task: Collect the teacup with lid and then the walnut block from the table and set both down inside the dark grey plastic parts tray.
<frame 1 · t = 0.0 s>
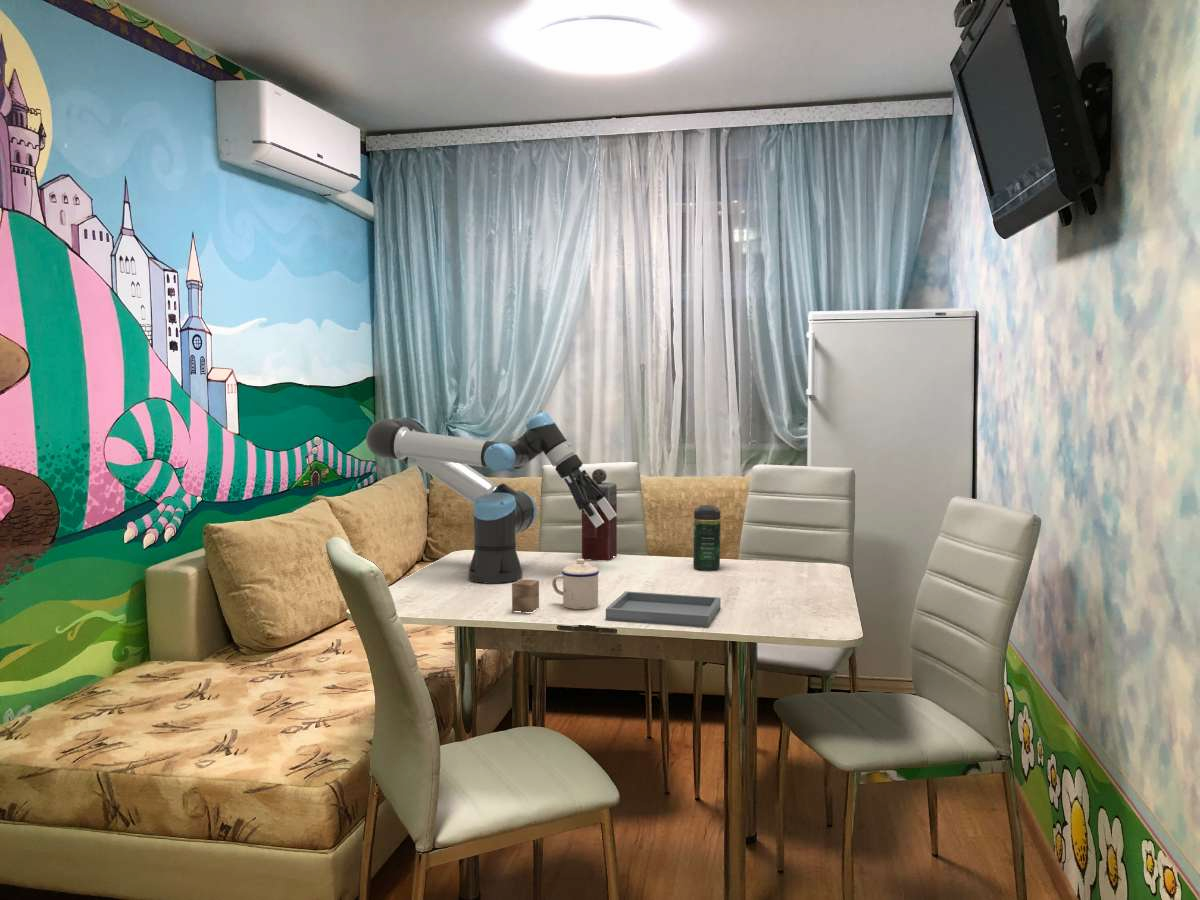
hand: (606, 521, 255), 15 cm above the table, tool tilted 35°, fingers open, 13 cm apart
tray: (664, 613, 212), on the table
walnut block: (525, 610, 216), on the table
coffee jar: (706, 568, 265), on the table
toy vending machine: (598, 558, 279), on the table
teacup with lid: (575, 606, 220), on the table
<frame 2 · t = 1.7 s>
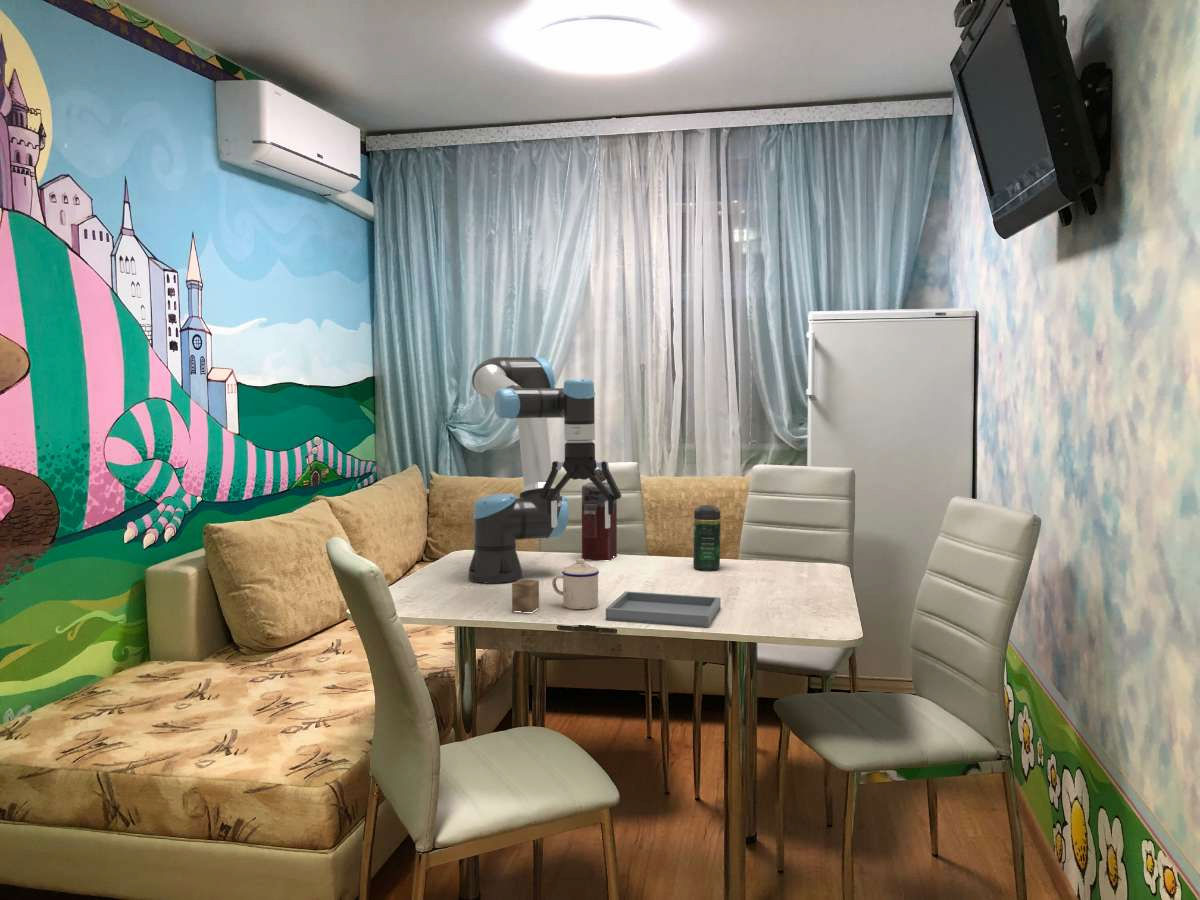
hand: (580, 527, 221), 19 cm above the table, tool pointing down, fingers open, 13 cm apart
nothing on the table moved.
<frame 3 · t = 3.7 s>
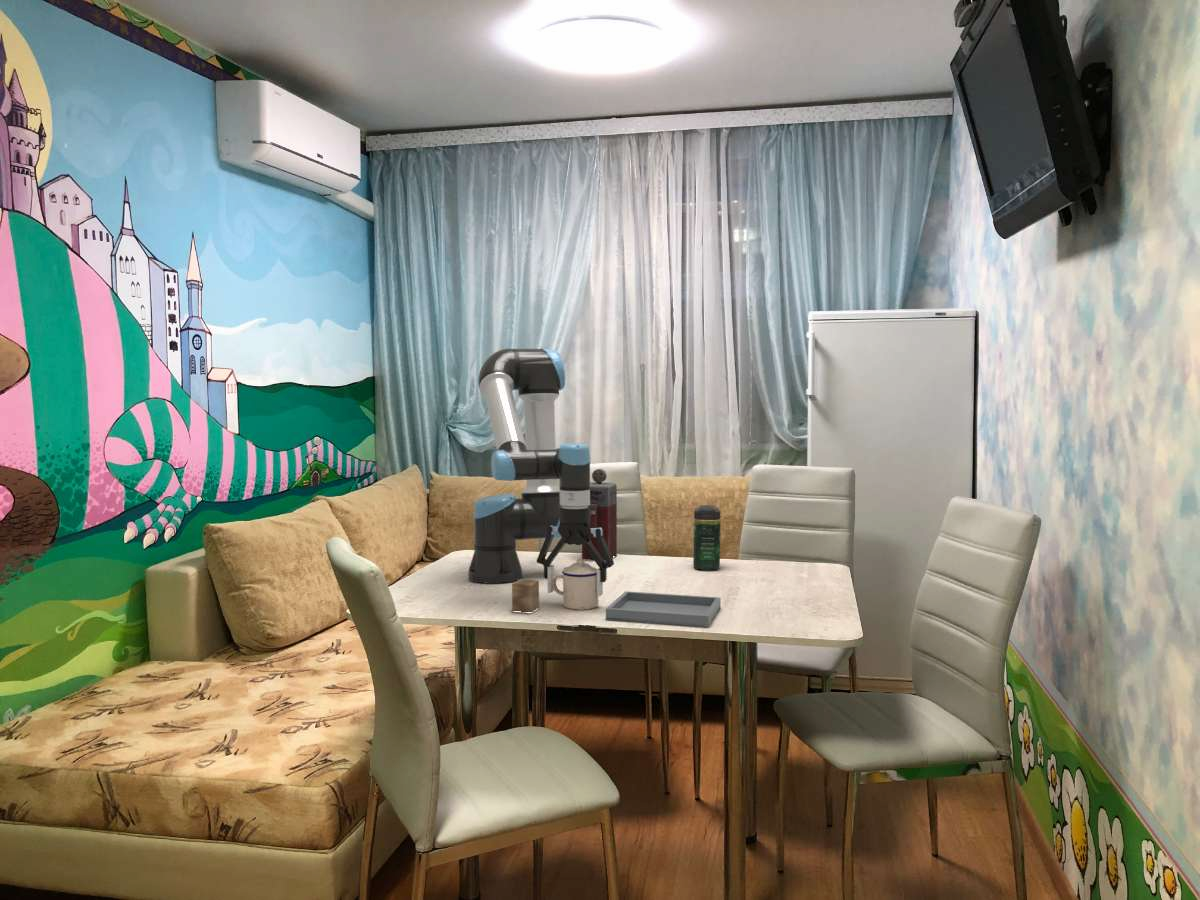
hand: (575, 593, 220), 3 cm above the table, tool pointing down, fingers closed on teacup with lid, 12 cm apart
teacup with lid: (575, 606, 220), on the table, touching gripper
everything else where it was.
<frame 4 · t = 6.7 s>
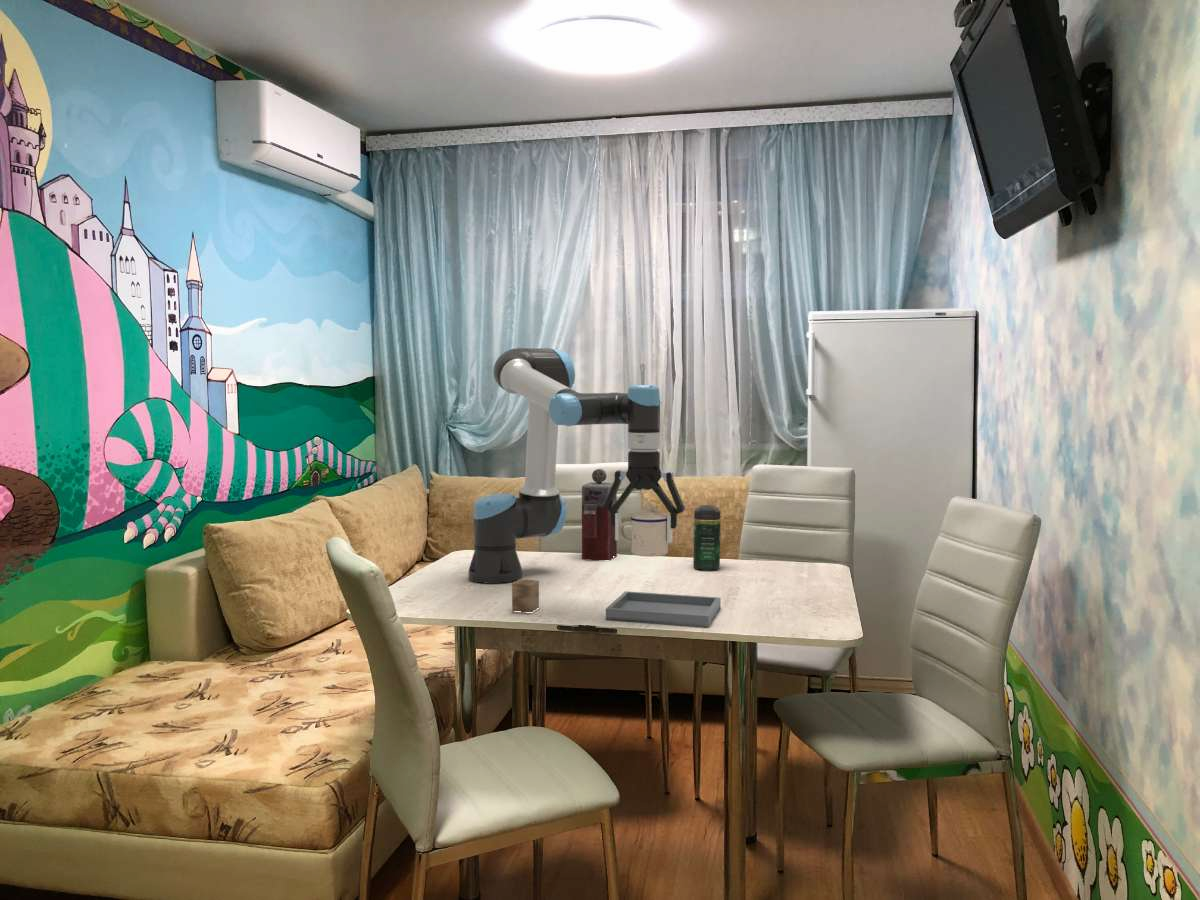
hand: (643, 540, 212), 17 cm above the table, tool pointing down, fingers closed on teacup with lid, 12 cm apart
teacup with lid: (643, 553, 212), point 14 cm above the table, touching gripper
everything else where it was.
when the fingers open (5 cm above the table, at t = 9.6 s): teacup with lid drops 1 cm, resting on tray.
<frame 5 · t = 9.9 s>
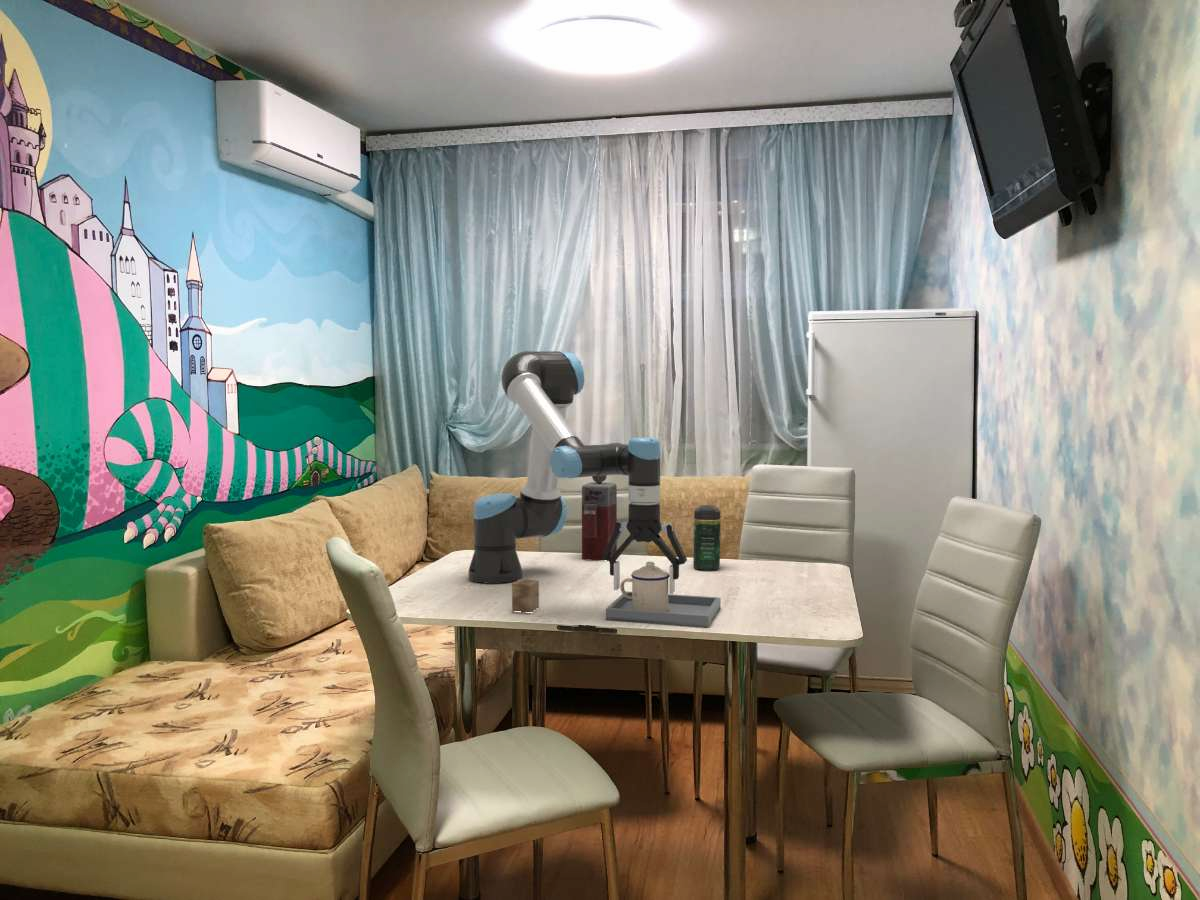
hand: (644, 590, 213), 5 cm above the table, tool pointing down, fingers open, 13 cm apart
teacup with lid: (644, 610, 214), resting on tray
everything else where it was.
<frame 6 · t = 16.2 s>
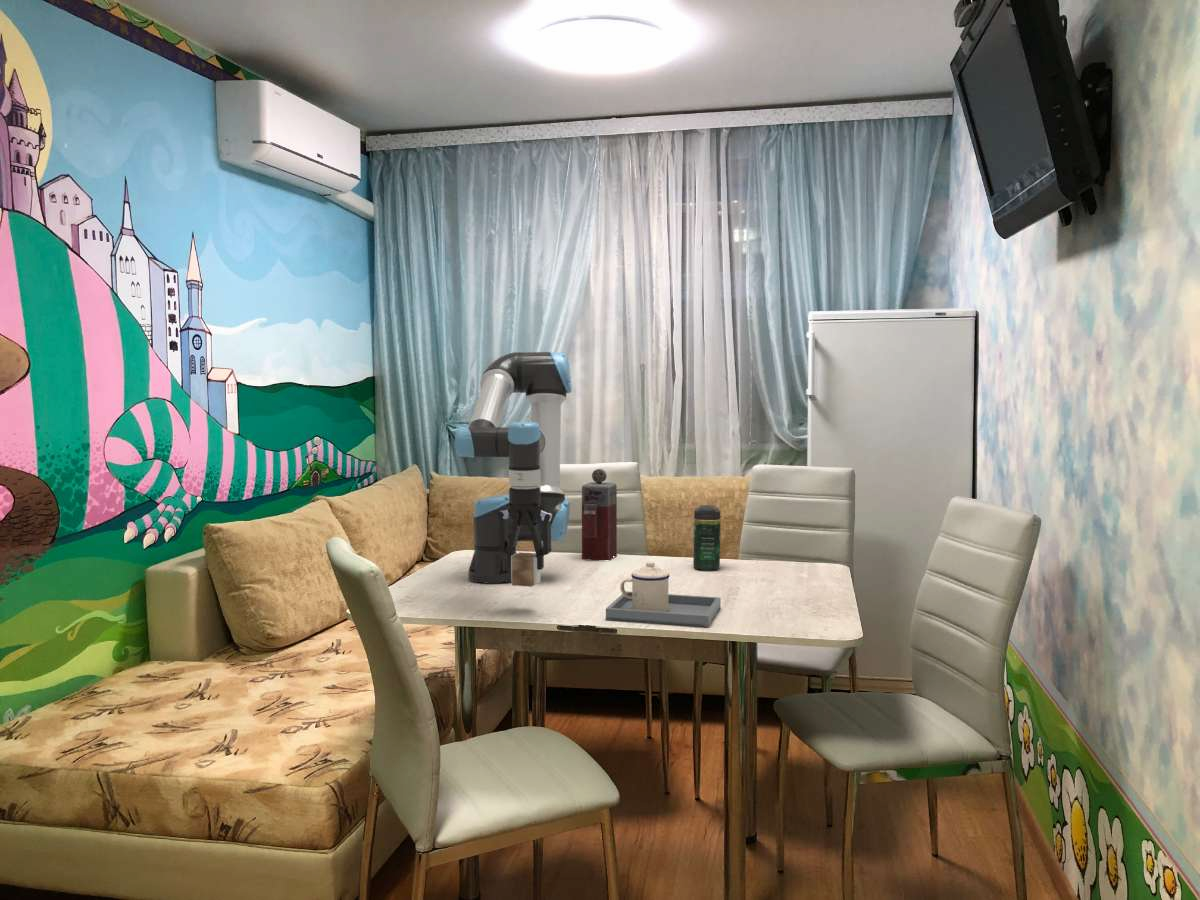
hand: (525, 581, 216), 7 cm above the table, tool pointing down, fingers closed on walnut block, 5 cm apart
walnut block: (525, 583, 216), point 6 cm above the table, touching gripper
everything else where it was.
when the fingers open (2 cm above the table, at t = 22.6 s): walnut block stays where it is, resting on tray.
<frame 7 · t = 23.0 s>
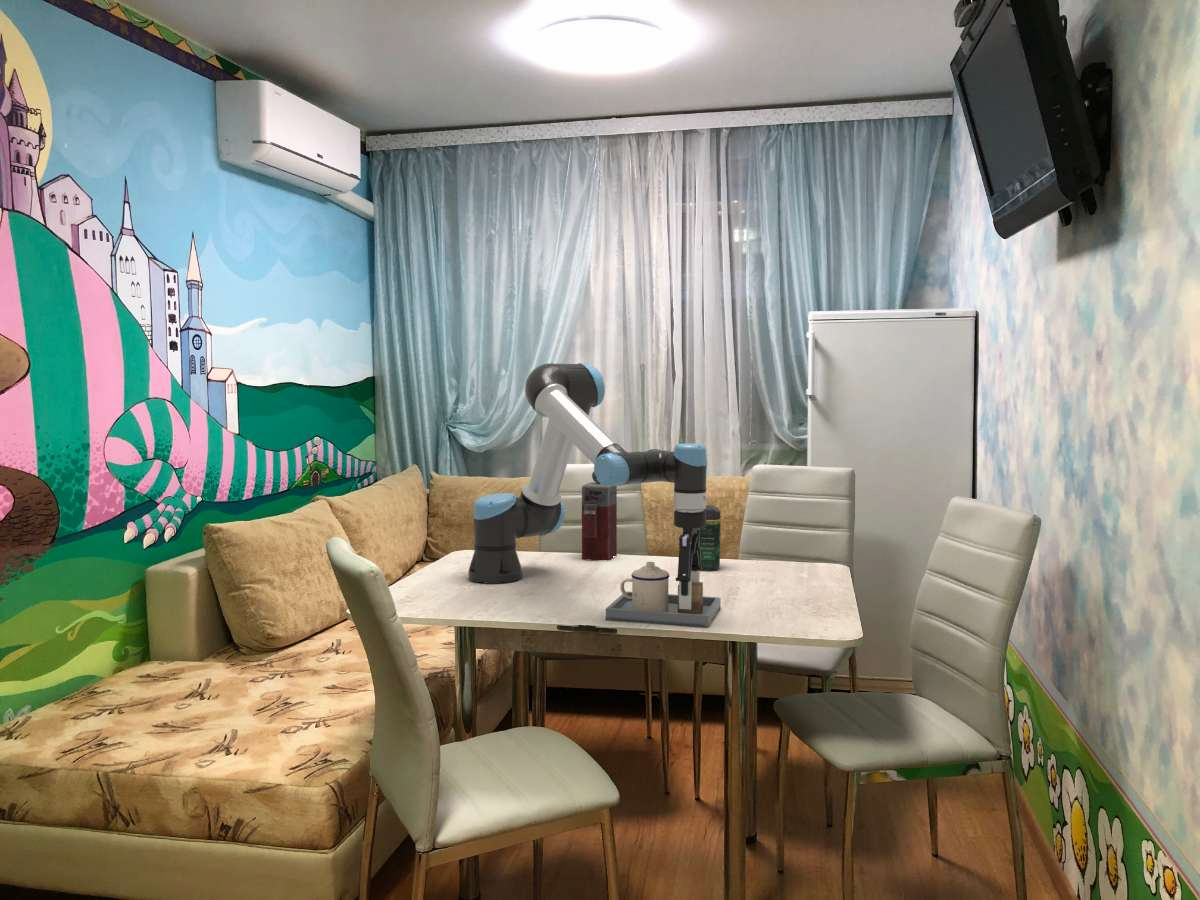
hand: (689, 603, 210), 3 cm above the table, tool pointing down, fingers open, 10 cm apart
walnut block: (690, 613, 210), point 1 cm above the table, touching tray
everything else where it was.
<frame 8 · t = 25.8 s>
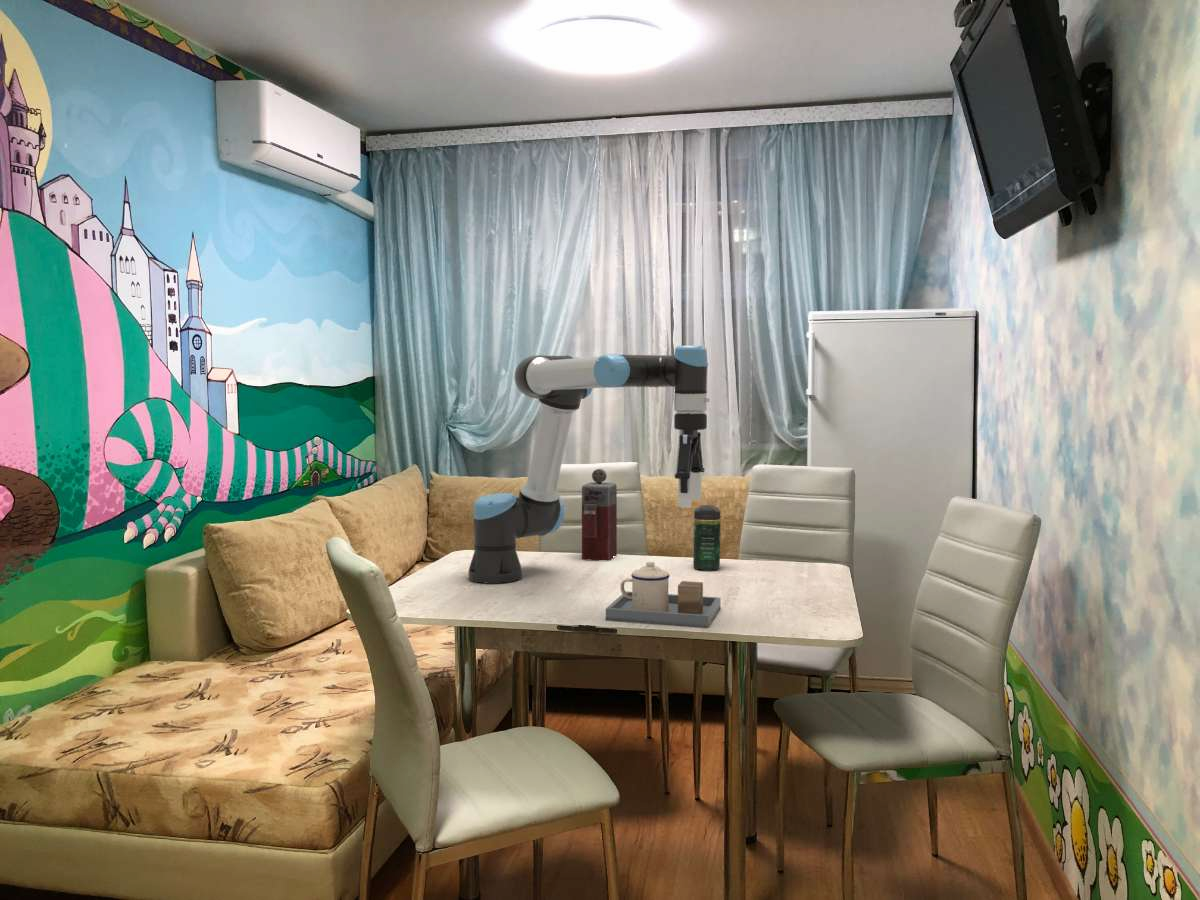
hand: (690, 503, 208), 27 cm above the table, tool pointing down, fingers open, 13 cm apart
nothing on the table moved.
at the end: teacup with lid inside the target area on the tray (4.9 cm from its centre), point 0.4 cm above the tray's base; teacup with lid tilted 0°; walnut block inside the target area on the tray (6.2 cm from its centre), point 0.6 cm above the tray's base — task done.
